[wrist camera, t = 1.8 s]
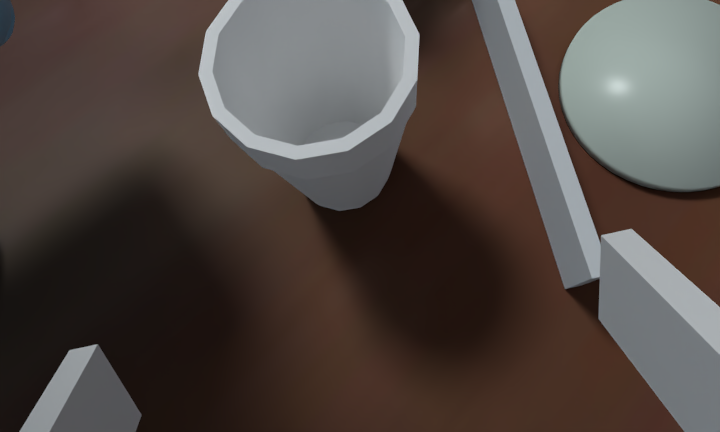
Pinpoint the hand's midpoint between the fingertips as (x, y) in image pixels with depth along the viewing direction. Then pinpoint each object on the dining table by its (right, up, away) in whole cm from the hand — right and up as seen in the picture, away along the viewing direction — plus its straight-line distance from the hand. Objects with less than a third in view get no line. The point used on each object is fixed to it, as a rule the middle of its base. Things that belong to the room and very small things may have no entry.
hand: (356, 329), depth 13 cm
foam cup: (-1, +6, +21) cm, 22 cm away
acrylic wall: (+11, +9, +20) cm, 25 cm away
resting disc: (+20, +11, +20) cm, 31 cm away
